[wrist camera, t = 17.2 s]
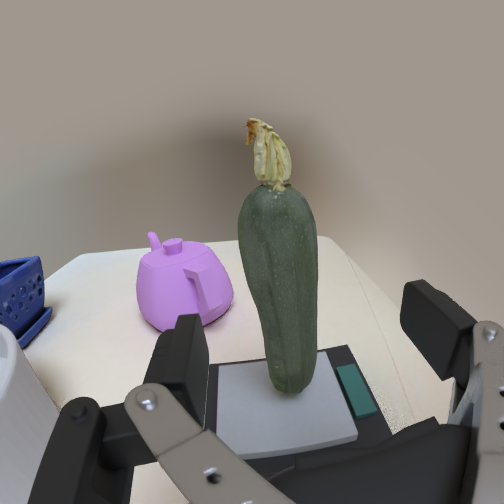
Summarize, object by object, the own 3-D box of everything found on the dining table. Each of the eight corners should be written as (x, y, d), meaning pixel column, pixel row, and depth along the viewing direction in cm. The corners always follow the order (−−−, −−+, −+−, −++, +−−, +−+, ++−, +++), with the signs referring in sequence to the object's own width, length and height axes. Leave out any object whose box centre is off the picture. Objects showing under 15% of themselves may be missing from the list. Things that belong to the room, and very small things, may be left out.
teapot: (194, 276, 54) (183, 218, 50) (263, 318, 39) (254, 238, 35) (128, 302, 47) (110, 240, 43) (174, 362, 32) (148, 276, 28)
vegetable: (327, 404, 20) (324, 109, 13) (276, 427, 18) (241, 110, 12) (298, 373, 24) (281, 118, 17) (252, 391, 22) (213, 123, 15)
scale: (345, 361, 29) (348, 336, 27) (390, 459, 16) (401, 437, 15) (213, 381, 28) (207, 356, 27) (209, 490, 16) (197, 472, 15)
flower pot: (18, 315, 44) (-3, 260, 40) (62, 314, 44) (40, 252, 40) (-18, 351, 32) (-46, 290, 27) (25, 358, 32) (-8, 286, 27)
